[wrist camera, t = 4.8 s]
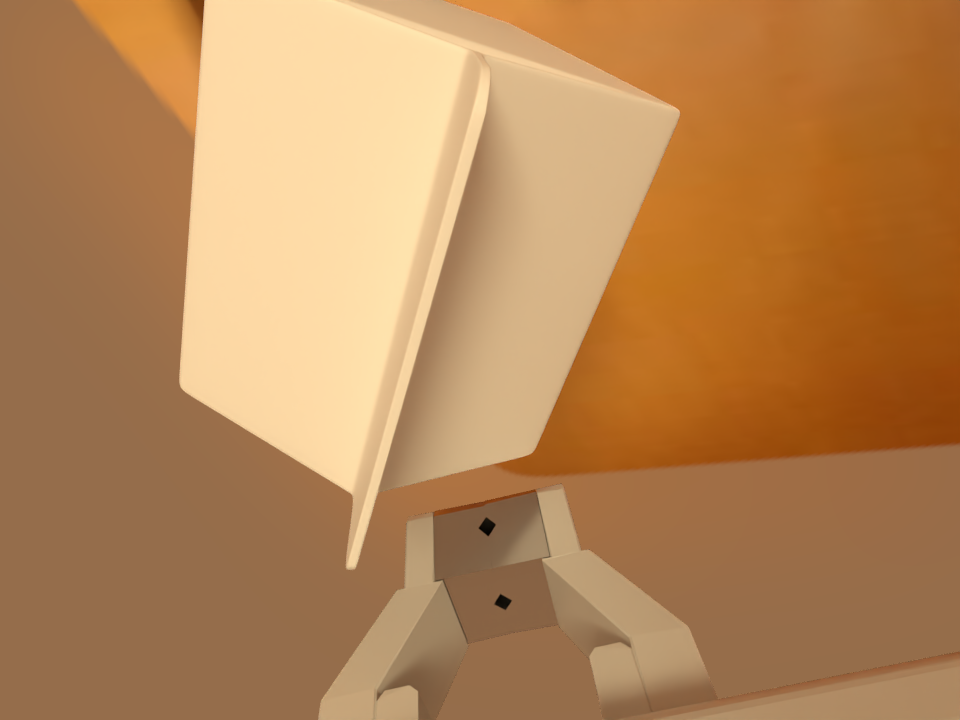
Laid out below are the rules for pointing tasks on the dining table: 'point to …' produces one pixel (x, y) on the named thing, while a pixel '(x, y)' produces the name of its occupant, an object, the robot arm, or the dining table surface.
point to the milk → (400, 231)
